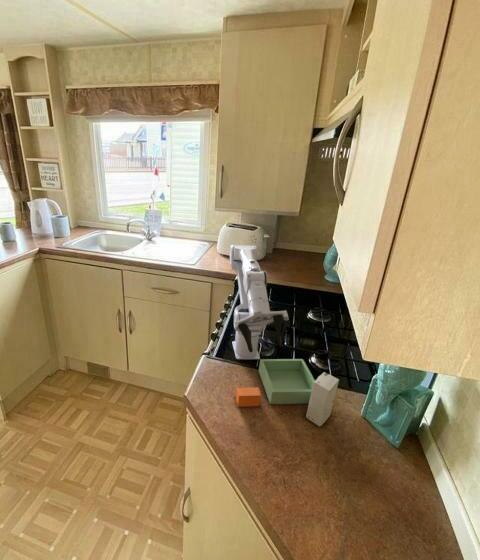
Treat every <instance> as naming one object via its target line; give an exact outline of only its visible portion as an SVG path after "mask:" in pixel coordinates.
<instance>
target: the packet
mask: <svg viewBox="0 0 480 560" xmlns="http://www.w3.org/2000/svg"><path fill="white" fill-rule="evenodd" d="M261 397H262V394H261V391H260V388H259V387H237V388H236V396H235V400H236V405H237V407H239V408H241V407H260V404H261Z"/></svg>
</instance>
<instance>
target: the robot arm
mask: <svg viewBox="0 0 480 560" xmlns="http://www.w3.org/2000/svg"><path fill="white" fill-rule="evenodd" d="M258 252H259V251H258V247H257V245H237V244H235V245H234V244H231V245H230V247H229V263H230V267H231V270H232V271H234V272H235V274H236V278H237V285H238V293H239V300H240V304H239V305H237V306H236V307H235V308H234V312H233V328H234V329H233V330H235V336H234V337H235V338H234V341H232V342H231V344H232V348H233V352H234V355H235V359H236V360H260V359H261V357H260V354H259V351H258V345H259V339H260V335H262V332H265V330H266V328H267V325H269V324H273V325H274V329H275V337H276V342H277V346H278V347H279V348H281V347H283V336H284V332H285V329H286V328H287V323H286V321H289V320H290V318H289V314H288V311H287V310H286V309H285V310H277V311H275V310H274V311H273V310H272V311H271V309H270V303H269V297H268V291H267V287H268V275H267V271H266V270H262V268H261V266H260V264H259V262H258V254H259V253H258Z"/></svg>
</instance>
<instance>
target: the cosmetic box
mask: <svg viewBox="0 0 480 560" xmlns="http://www.w3.org/2000/svg"><path fill="white" fill-rule="evenodd" d="M314 380H315V382H314V383H313V387H312V392H311V396H310V401H309V403H308V404H307V405H308V406H307V409H306V410H307V411H306V415H305V418H306V419H307V420H309V421H311V423H314V424H315V425H317V426H318V427H321V426H322V425H323V424H324V423H326V421H327V420H328V419H329V418H330V416H331V413H332V409H333V405H334V403H335V398H336V395H337V390H338V386H339V382H340V379H339V378H337V377H335V376H333V375H331V374H329V373H327V372H325V371H324V372H322V373H321V374H320V375H319V376H317V378H316V379H314Z"/></svg>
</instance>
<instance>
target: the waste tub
mask: <svg viewBox="0 0 480 560" xmlns="http://www.w3.org/2000/svg"><path fill="white" fill-rule="evenodd" d="M258 373H259V376H260V379H261V382H262V385H263V388H264V390H265V393H266V396H267V399H268V402H269V405H296V404H297V405H298V404H301V405H303V404H309V401H310V396H311V392H312V387H313V383H314V382H315V380H316V379H315V378H314V376H313V374H312V372H311V370H310V369H309V367H308V365H307V364H306V362H305V360H304V359H303V358H276V359H275V358H273V359H272V358H270V359H268V358H266V359H265V358H264V359H263V358H262V359H261V358H260V359H259V366H258Z"/></svg>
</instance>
